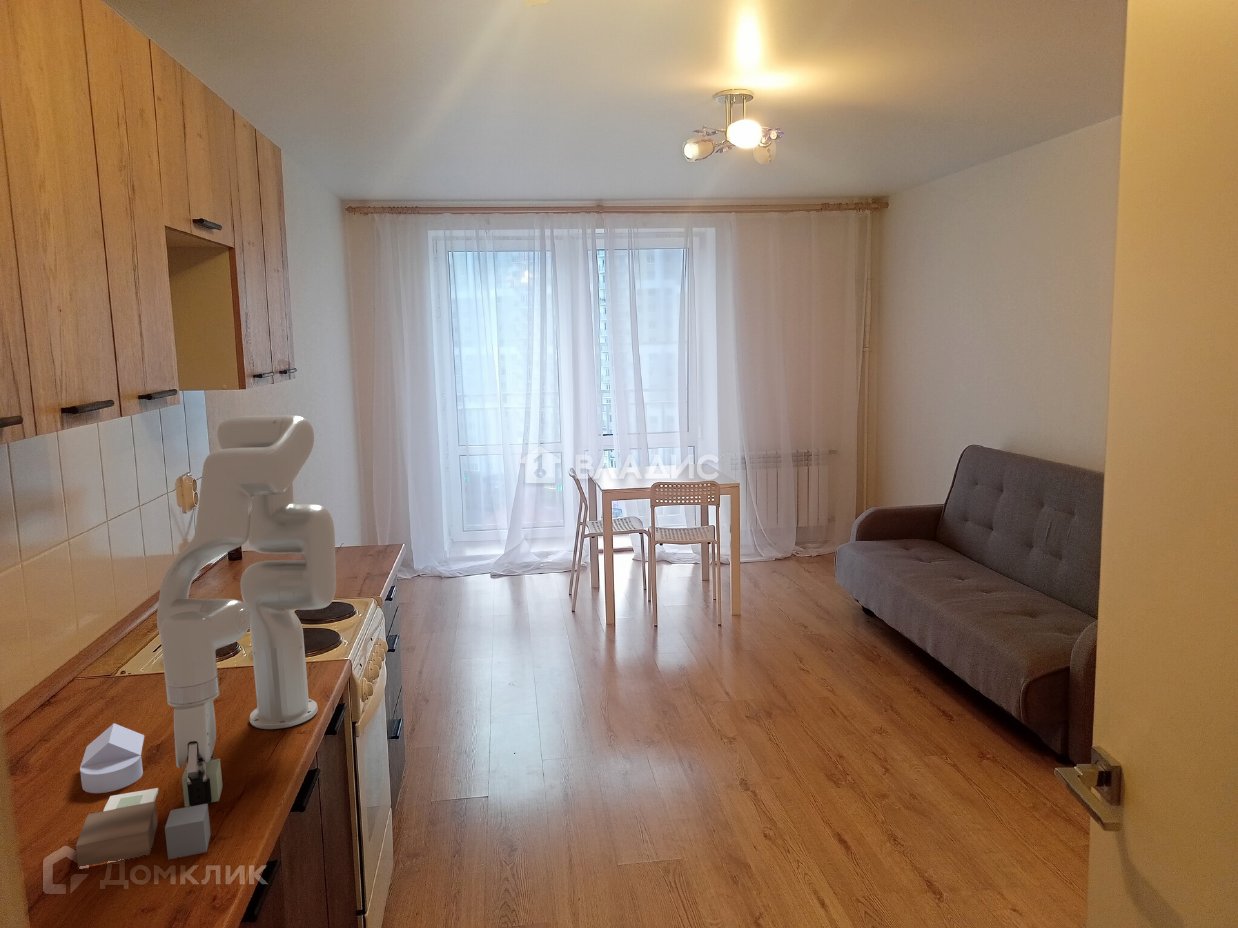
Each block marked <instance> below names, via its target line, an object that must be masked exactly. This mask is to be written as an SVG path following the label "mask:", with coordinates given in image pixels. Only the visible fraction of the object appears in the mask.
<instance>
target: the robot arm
mask: <svg viewBox="0 0 1238 928" xmlns="http://www.w3.org/2000/svg"><path fill="white" fill-rule="evenodd" d="M216 433H217V434H216V436H217V441H218V445H219V446H220V448H221V449H218V450H215V451H212V452H211V453H210V454H209V455H207V456H206V458H205V459H204V463H203V465H202V471H201V472H202V473H201V482H200V489H199V497H198V498H199V499H198V505H197V516H196V521H195V522H196V524H195V533H194V535H193V537H192V539H191V540H190V541H189V542H188V543H187V544H186V545H185V546H184V547H183V549H182V550H181V551H180V552H179V553H178V554H177V555H176V557H175V558H174V559H173V561H172V562H171V564H170V565H169V567H168V569H167V570H166V572H165V574H164V576H163V578H162V581H161V585H160V588H159V595H158V602H157V603H158V605H157V614H156V624H157V625H156V626H157V630H158V634H159V635H160V642H161V643H160V645H161V652H162V653H161V654H162V661H163V670H164V673H163V674H164V680H165V688H166V697H167V704H168V706H170V707H172V708H173V732H174V733H173V735H174V736H173V737H174V749H175V751H174V752H175V764H176V767H177V768H178V769H181V768H183V767H184V766H186V765H187V787H188V796H189V805H190V806H189V807H191V806H197V805H202V804H208V805H209V804H211V803H212V802H211V801H212V796H211V787H210V778H208V779H207V763H208V762H209V761H210V760H214V759H215V752H214V750H215V749H214V748H215V745H216V741H217V727H216V726H217V725H216V723H217V722H216V714H215V705H214V700H216V698H218V697H219V696H220V687H219V686H220V684H219V677H218V665H217V655H216V651H217V650H218V649H220V648H223V647H226V646H230V645H231V644H234V643H236V642H238V641H239V640H241V639H242V638H243V637H244V636H246V634H247V632H248V631H249V632H250V640H251V642H250V643H251V651H252V653H251V654H252V662H253V673H254V682H255V694H256V704H257V705H256V706H257V707H256V708H255V709H253V710H252V711H251V713H250V714H249V722H250V724H251V726H253V727H255V728H258V729H262V730H263V729H264V730H277V729H278V730H279V729H285V728H286V729H287V728H291V727H294V726H297V725H300V724H303V723H306V722H307V721H309V720H311V719H312V718H313V717H315V716H316V714H317V713H318V711H319V710H318V709H319V708H318V703H317V702H316V701H315V700H313V699H311V698H309V689H308V677H307V676H308V675H307V664H306V662H307V661H306V653H305V639H304V630H303V626H302V622H301V621H300V619H299V617H298V616H297V614H296V613H295V610H298V611H300V610H301V611H302V610H303V611H306V610H321V609H324V608H327V607H328V606H329V605H330V604H332V602H333V600H334V599H335V596H336V595H335V594H336V590H337V570H336V567H337V565H336V564H337V563H336V542H335V541H336V539H335V537H336V536H335V535H336V533H335V524H334V520H333V517H332V514H331V513H330V511H329V510H328V509H327V508H326V507H325V506H323V505H321V504H315V503H299V504H298V503H296V502H295V500H294V487H293V486H294V485H293V483H294V481H295V479H296V478H297V476H298V474H299V473H300V471H301V470H302V468H303V466H304V465H305V464H306V462H307V460H308V459H309V457H310V455H311V453H312V451H313V448H314V444H315V433H314V428H313V426H312V424H311V423H310V421H309V420H308V419H306V418H305V417H303V416H300V415H293V414H292V415H291V414H290V415H289V414H288V415H287V414H285V415H242V416H235V417H229V418H227V419H225V420H223V421H222V422H220V424H219V425H218V427H217V431H216ZM247 542H248V543H249V546H250V547H251V549H252V550H253V551H254V552H256V553H260V554H280V555H282V554H285V555H286V554H303V556H304V559H303V560H301V559H299V560H297V559H293V560H292V559H279V560H277V559H274V560H273V559H271V560H268V559H267V560H260V561H257V562H255V563H252V564H251V565H249V566H248V567H246V568H245V569H244V571H243V572H242V574H241V577H240V585H239V587H240V593H241V597H242V601H241V600H240V599H234V598H189V594H190V589H191V586H192V582H193V580H194V578H195V577H196V576H197V574H198V573H199V572H200V570H201V569H202V568H203V567H204V566H206V565H207V564H208V563H210V562H212V561H213V560H214V559H217V558H218V557H220V556H222V555H224V554H226V553H228V552H231V551H233V550H236V549H237V548H239V547H242V546H243V545H244V544H246V543H247ZM185 764H186V765H185ZM198 766H202V771H201V770H199V769H198ZM202 772H203V773H202Z"/></svg>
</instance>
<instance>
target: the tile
mask: <svg viewBox="0 0 1238 928" xmlns="http://www.w3.org/2000/svg"><path fill="white" fill-rule="evenodd" d="M158 793H159V787H156V788H149V789H144V790H143V789H142V790H138V791H133V792H132V791H131V792H126V793H120V794H114V795H110V796H109V797H108V798H109V799H108V800H107V802H106V803H105V806H104V808H103V811H108V810H113V809H118V808H123V807H128V806H133V805H138V804H144V803H149V802H154V801H155V802H156V799H157V796H158ZM103 811H102V812H103Z"/></svg>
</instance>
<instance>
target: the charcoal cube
mask: <svg viewBox="0 0 1238 928" xmlns="http://www.w3.org/2000/svg"><path fill="white" fill-rule="evenodd" d="M209 815H210V813H209V804H202V805H197V806H188V807H181V808H176V809H171V810H170V811H169V815H168V817H167V821H166V823H165V826H164V833H165V841H166V850H167V859H168V861H169V860H173V859H178V858H177V857H179V858H184V857H188V856H192V855H193V856H194V855H198V854H199V855H200V854H204V853H207V851H208V847H209V842H210V840H211V835H212V833H211V824H210V816H209Z"/></svg>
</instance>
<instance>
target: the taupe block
mask: <svg viewBox="0 0 1238 928" xmlns="http://www.w3.org/2000/svg"><path fill="white" fill-rule="evenodd" d="M158 823H159V822H158V814H157V805H156V800H155V801H154V802H149V803H144V804H138V805H133V806H128V807H123V808H118V809H113V810H108V811H99V812H94V813H89V814H87V816H86V818H85V821H84V824H83V826H82V829H81V831H80V834H79V836H78V839H77V842H76V844H75V850H76V860H77V867H78V868H79V867H80V866H86V865H93V864H100V863H104V862H108V861H118V860H120V859H121V860H122V859H128V860H131V859H130V858H133V859H136V858H135V857H137V858H141V857H140V856H142V855H146V856H149V855H148V854H150V852H151V853H152V849H151V848H153V845H154V839H155V836H156V832H157V828H158ZM150 855H151V854H150ZM142 857H143V856H142Z"/></svg>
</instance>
